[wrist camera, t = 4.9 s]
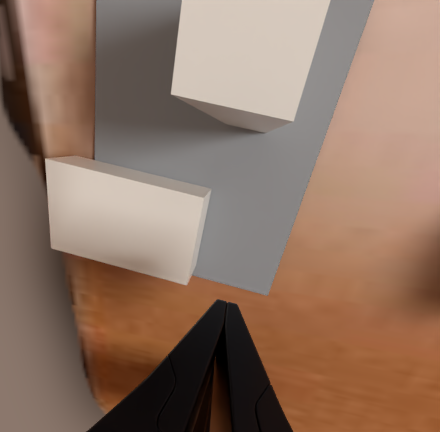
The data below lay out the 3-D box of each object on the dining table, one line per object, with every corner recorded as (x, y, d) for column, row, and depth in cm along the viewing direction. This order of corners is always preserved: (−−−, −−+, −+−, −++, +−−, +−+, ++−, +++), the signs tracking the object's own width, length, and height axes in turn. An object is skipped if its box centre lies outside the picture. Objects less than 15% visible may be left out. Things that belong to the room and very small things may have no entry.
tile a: (187, 285, 14) (51, 248, 15) (196, 264, 17) (78, 233, 17) (204, 197, 12) (45, 158, 13) (211, 188, 15) (77, 155, 15)
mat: (267, 291, 17) (267, 295, 17) (97, 245, 18) (93, 248, 17) (371, -1, 11) (376, -8, 10) (103, -51, 12) (97, -59, 11)
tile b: (265, 133, 13) (293, 121, 4) (224, 123, 13) (166, 92, 4) (299, 6, 11) (503, -569, 2) (250, -4, 11) (240, -580, 2)
